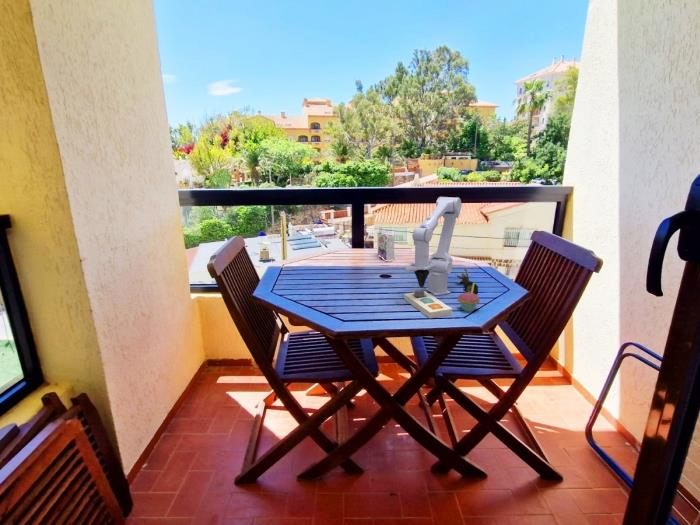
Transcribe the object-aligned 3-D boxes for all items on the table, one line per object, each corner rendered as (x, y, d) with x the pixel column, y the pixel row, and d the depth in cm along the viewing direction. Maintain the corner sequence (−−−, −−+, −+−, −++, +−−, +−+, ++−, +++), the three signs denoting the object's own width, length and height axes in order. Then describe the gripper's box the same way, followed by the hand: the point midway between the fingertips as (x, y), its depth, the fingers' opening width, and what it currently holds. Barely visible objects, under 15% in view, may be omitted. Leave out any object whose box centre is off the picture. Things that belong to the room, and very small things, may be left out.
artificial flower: (459, 299, 177) (454, 278, 176) (459, 288, 198) (454, 269, 198) (480, 294, 174) (474, 273, 174) (477, 284, 196) (472, 265, 195)
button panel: (404, 299, 175) (404, 293, 174) (424, 296, 178) (424, 291, 177) (429, 318, 154) (429, 312, 153) (452, 314, 157) (452, 308, 156)
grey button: (412, 296, 173) (412, 291, 172) (421, 295, 174) (421, 289, 174) (417, 299, 169) (417, 294, 168) (426, 298, 170) (426, 292, 170)
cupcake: (474, 305, 166) (475, 278, 163) (482, 312, 157) (484, 284, 154) (454, 306, 165) (455, 279, 162) (462, 314, 157) (463, 285, 154)
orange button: (427, 310, 161) (427, 304, 160) (437, 308, 162) (437, 303, 161) (433, 314, 157) (433, 308, 156) (442, 312, 158) (443, 306, 157)
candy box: (377, 256, 249) (377, 231, 245) (385, 255, 251) (385, 230, 247) (385, 262, 237) (385, 235, 232) (394, 261, 238) (394, 234, 234)
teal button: (419, 304, 167) (419, 298, 166) (428, 303, 168) (429, 297, 168) (424, 308, 163) (424, 302, 162) (434, 306, 164) (434, 300, 164)
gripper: (410, 259, 159) (410, 291, 163) (441, 256, 164) (441, 286, 167) (403, 256, 166) (403, 286, 169) (433, 252, 170) (432, 282, 174)
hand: (421, 286), depth 169 cm, fingers closed
